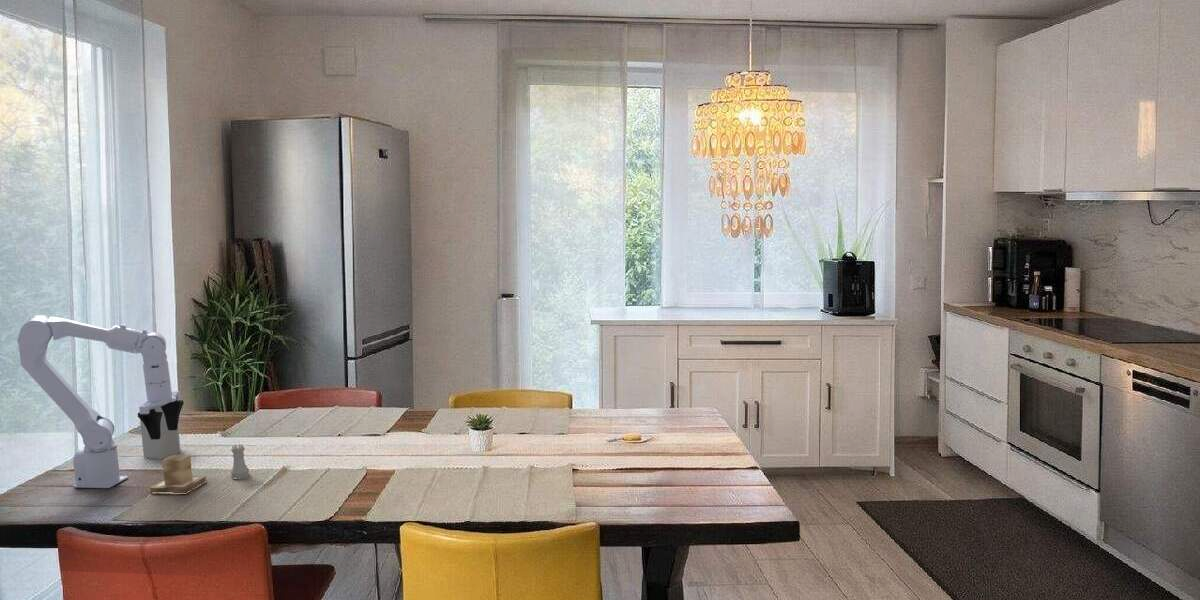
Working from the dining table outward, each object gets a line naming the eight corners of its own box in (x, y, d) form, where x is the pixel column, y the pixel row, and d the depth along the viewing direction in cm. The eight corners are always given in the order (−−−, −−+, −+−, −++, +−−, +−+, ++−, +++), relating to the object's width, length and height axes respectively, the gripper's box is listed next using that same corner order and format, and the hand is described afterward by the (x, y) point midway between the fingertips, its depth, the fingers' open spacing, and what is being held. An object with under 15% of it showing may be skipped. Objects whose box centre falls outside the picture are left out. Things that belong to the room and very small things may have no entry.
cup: (145, 450, 276) (141, 407, 274) (181, 446, 278) (177, 404, 277) (141, 459, 267) (137, 415, 265) (178, 455, 270) (174, 411, 268)
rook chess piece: (243, 480, 248) (240, 448, 247) (227, 479, 249) (224, 447, 247) (253, 474, 252) (250, 443, 251) (237, 473, 253) (234, 442, 252)
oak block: (164, 484, 241) (162, 460, 240) (175, 478, 245) (172, 454, 245) (182, 484, 240) (180, 460, 240) (192, 478, 245) (190, 454, 244)
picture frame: (150, 493, 239) (150, 487, 239) (172, 481, 248) (171, 475, 248) (186, 494, 238) (185, 488, 238) (206, 482, 247) (205, 476, 247)
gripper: (155, 388, 242) (162, 443, 244) (188, 374, 256) (194, 425, 259) (128, 388, 243) (135, 443, 245) (162, 374, 257) (169, 426, 260)
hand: (164, 434), depth 252 cm, fingers open, 7 cm apart
